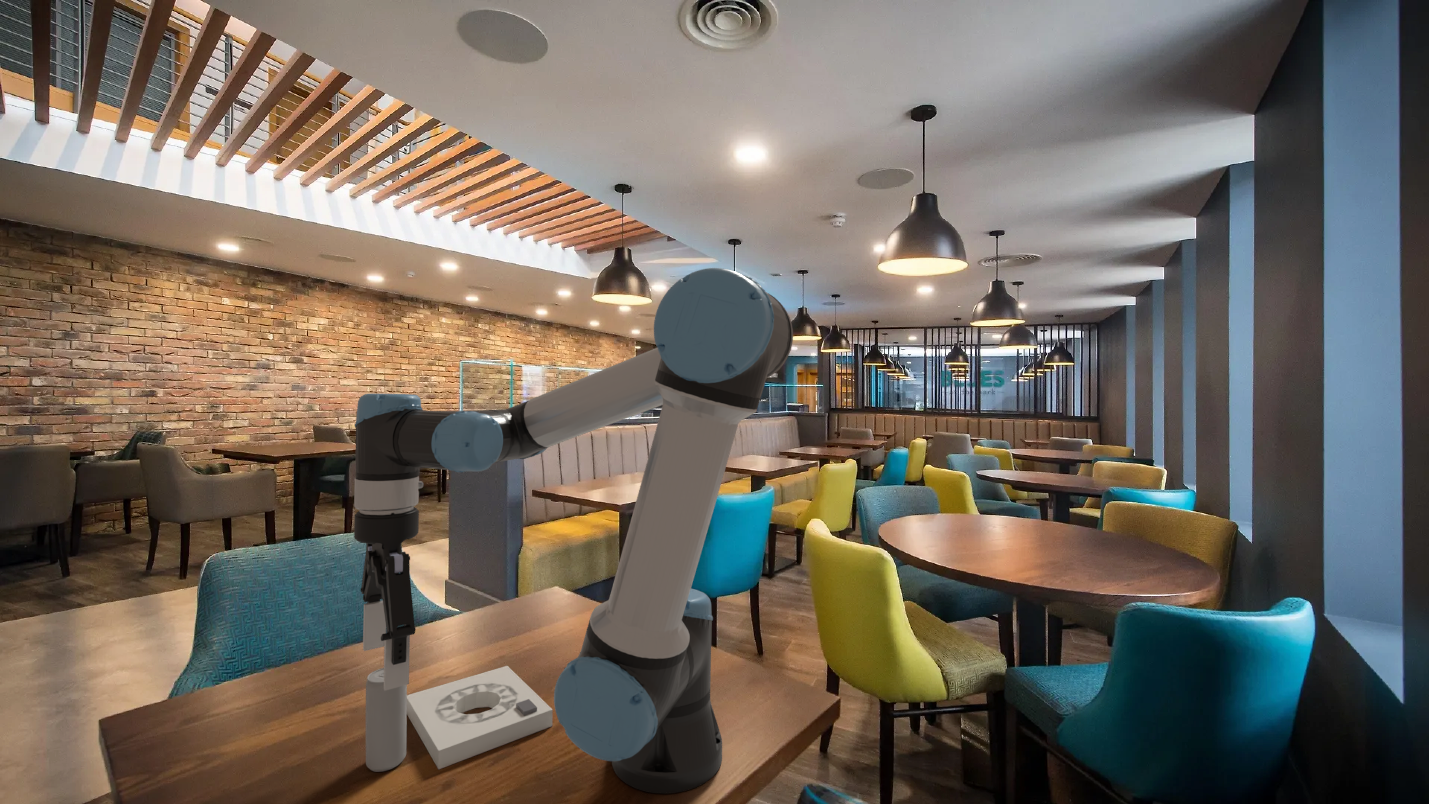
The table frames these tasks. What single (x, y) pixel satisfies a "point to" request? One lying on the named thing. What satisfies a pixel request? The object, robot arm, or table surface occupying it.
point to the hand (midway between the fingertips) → (384, 666)
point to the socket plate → (476, 715)
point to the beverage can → (385, 723)
